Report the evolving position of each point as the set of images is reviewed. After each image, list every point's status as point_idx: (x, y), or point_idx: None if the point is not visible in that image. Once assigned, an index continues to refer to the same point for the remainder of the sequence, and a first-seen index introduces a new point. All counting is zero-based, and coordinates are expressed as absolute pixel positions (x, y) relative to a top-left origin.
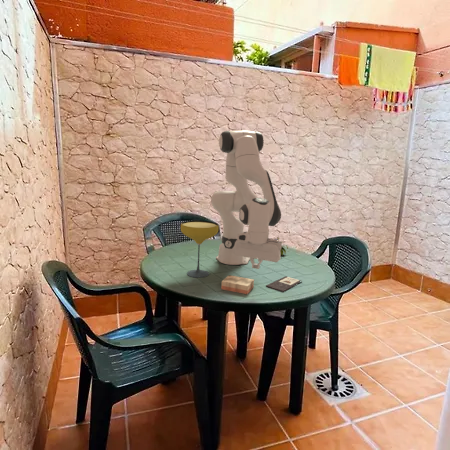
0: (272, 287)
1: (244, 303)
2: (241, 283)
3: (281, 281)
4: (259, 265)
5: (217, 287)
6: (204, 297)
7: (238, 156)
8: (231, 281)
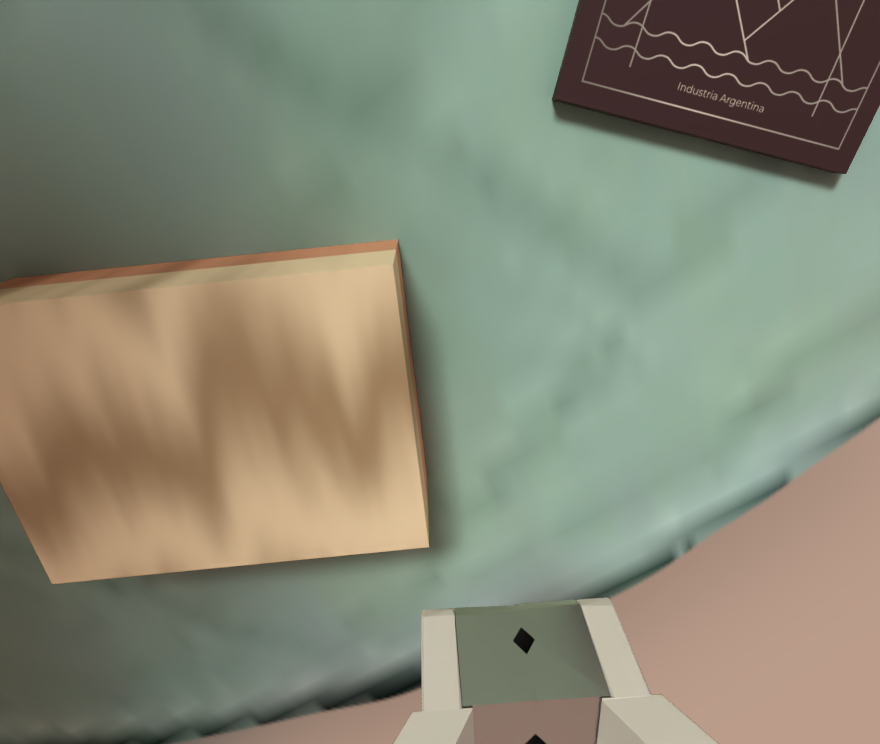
0: (672, 122)
1: None
2: (310, 515)
3: None
4: (635, 687)
5: None
6: (139, 717)
7: None
8: (155, 525)
